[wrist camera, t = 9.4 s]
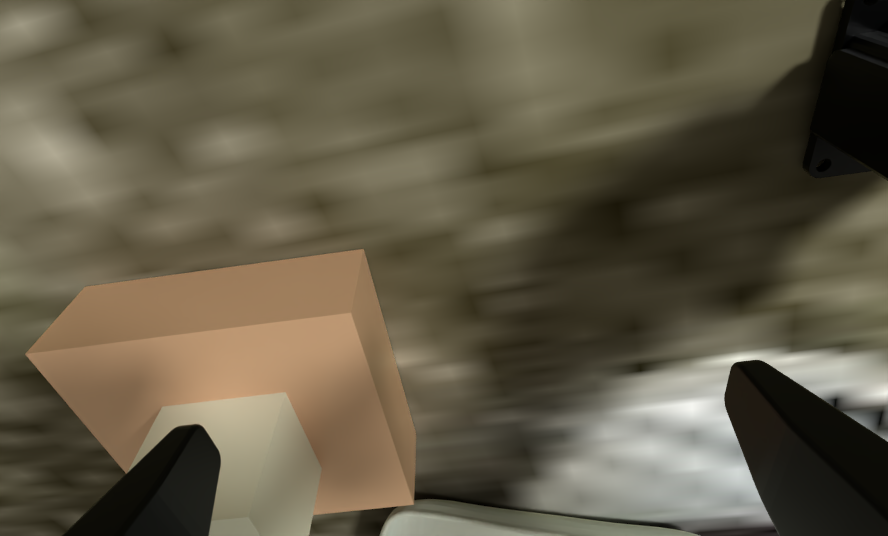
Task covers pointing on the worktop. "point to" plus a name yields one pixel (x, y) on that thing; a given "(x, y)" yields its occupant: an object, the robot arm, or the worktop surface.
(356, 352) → the stand
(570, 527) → the salad plate
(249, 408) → the block
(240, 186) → the worktop surface
